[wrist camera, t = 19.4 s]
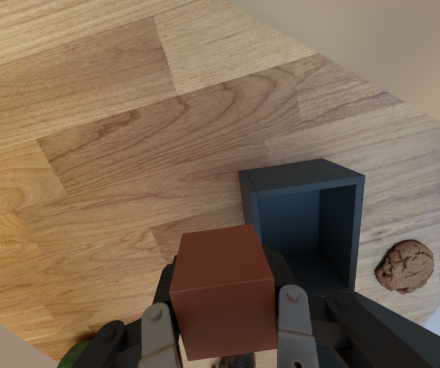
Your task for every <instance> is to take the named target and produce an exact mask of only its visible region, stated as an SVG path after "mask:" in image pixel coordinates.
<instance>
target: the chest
mask: <svg viewBox="0 0 440 368" xmlns="http://www.w3.org/2000/svg"><path fill="white" fill-rule="evenodd" d="M239 177H240V185H241V194H242V202H243V210H244V218H245V225H249V224H253V225H254V228H255V231H256V233H257V236H258V238H259V241H260V243H261V244H262V243H267V244H268V246H269V249H270V250H277V251H279V252H280V253H281V254H282V255H283V257H284V259H285V262H286V263H287V265H288V267H289V269H290V271H291V273H292V275H293V277H294V279H295V281H296V283H297V285H298V286H299V287H301V288H302V289H303V290H304V291H305V292H306V293H307V294H309V295H313V296H318V297H323V296H326V295H327V294H328V293H329V292H331V291H342V292H345V293H350V292H354V289H355V278H356V268H357V257H358V246H359V236H360V225H361V214H362V204H363V193H364V182H365V175H363V174H360V173H358V172H355V171H353V170H350V169H348V168H345V167H343V166H340V165H338V164H335V163H333V162H330V161H328V160H325V159H316V160H310V161H303V162H297V163H291V164H284V165H278V166H271V167H265V168H258V169H252V170H245V171H239Z"/></svg>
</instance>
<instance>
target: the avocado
mask: <svg viewBox="0 0 440 368" xmlns="http://www.w3.org/2000/svg"><path fill="white" fill-rule="evenodd" d="M90 341H91V340H85V341H82V342H79V343H77V344H76V345H75V346H73V347H72V348H71V349H70V350H69V351H68V352H67V353H66V354H65V356H64V357H63V358H62V359H61V361H60V363H59V364H58V366H57V368H70V367H71V366H72V365H73V364H74V362H75V361H76V360H77V358H78V357H79V356H80V354H81V353H82V352H83V350H84V349H85V348H86V346H87V345H88V344H89V342H90Z"/></svg>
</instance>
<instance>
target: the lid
mask: <svg viewBox="0 0 440 368" xmlns="http://www.w3.org/2000/svg"><path fill="white" fill-rule="evenodd" d="M347 294H349V295H351V296H352V297H353V298H354V299H356V300H357V301H358V302H359V303H360V304H361V305H363V306H364V307H365V308H366V309H367V310H368V311H369V312H371V313H372V314H373V315H374V316H375V317H376V318H377V319H379V320H380V321H381V322H382V323H383V324H384V325H386V326H387V327H388V328H389V329H390V330H391V331H392V332H394V333H395V334H396V335H397V336H398V337H399V338H401V339H402V340H403V341H404V342H405V343H406V344H407V345H409V346H410V347H411V348H412V349H413V350H414V351H415V352H417V353H418V354H419V355H420V356H421V357H422V358H424V359H425V360H426V361H427V362H428V363H429V364H430V365H432V366H433V367H434V368H440V336H439V335H436V334H435V333H432V332H431V331H429V330H427V329H425V328H423V327H422V326H420V325H418V324H416V323H414V322H412V321H410V320H408V319H406V318H404V317H403V316H401V315H399V314H397V313H395V312H393V311H391V310H389V309H387V308H386V307H384V306H382V305H380V304H378V303H376V302H374V301H372V300H370V299H369V298H367V297H365V296H363V295H361V294H359V293H357V292H351V293H347ZM325 298H326V296H325ZM278 324H279V320H278V319H277V320H276V326H277V345H278ZM316 349H317V356H318V363H319V368H343V367H342V366H341V364H340V363H339V362H338V361H337V359H336V358H335V357H334V355H333V354H332V353H331V352H330V350H329V349H328V348H327V346H325V345H321V344H316Z"/></svg>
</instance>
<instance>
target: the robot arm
mask: <svg viewBox="0 0 440 368" xmlns="http://www.w3.org/2000/svg"><path fill="white" fill-rule="evenodd" d="M261 246H262V249H263V251H264V254H265V256H266V259H267V262H268V264H269V267H270V269H271V272H272V274H273V277H274V290H275V308H276V320H277V319H278V320H279V324H278V347H277V368H319V363H318V356H317V349H316V344H321V345H325V346H327V348H328V349H329V350H330V352H331V353H332V354H333V355H334V357H335V358H336V359H337V361H338V362H339V363H340V364H341V366H342V367H343V368H434V367H433V366H432V365H430V364H429V363H428V362H427V361H426V360H425V359H424V358H422V357H421V356H420V355H419V354H418V353H417V352H415V351H414V350H413V349H412V348H411V347H410V346H409V345H407V344H406V343H405V342H404V341H403V340H402V339H401V338H399V337H398V336H397V335H396V334H395V333H394V332H392V331H391V330H390V329H389V328H388V327H387V326H386V325H384V324H383V323H382V322H381V321H380V320H379V319H377V318H376V317H375V316H374V315H373V314H372V313H371V312H369V311H368V310H367V309H366V308H365V307H364V306H363V305H361V304H360V303H359V302H358V301H357V300H356V299H354V298H353V297H352V296H351V295H349V294H347V293H345V292H342V291H331V292H329V293H328V294H327V295H326V298H325V297H318V296H313V295H309V294H307V293H306V292H305V291H304V290H303V289H302V288H301V287H299V286H298V285H297V283H296V281H295V279H294V277H293V275H292V273H291V271H290V269H289V267H288V265H287V263H286V262H285V259H284V257H283V255H282V254H281V253H280V252H279V251H277V250H270V249H269V246H268V244H267V243H262V244H261ZM176 260H177V255H175V256H174V260H173V264H167V266H166V267H165V268H164V269H163V271H162V274H161V277H160V280H159V284H158V287H157V290H156V293H155V297H154V300H153V303H152V305H151V306H150V307H148V308H147V309H146V310H145V312H144V313H143V315H142V318H140V319H138V320H136V321H134V322H132V323H130V324H127V325H124V323H123V322H122V321H120V320H115V321H111V322H109V323H107V324H106V325H104V326H103V327H102V328H101V329H100V330H99V331H98V332H97V333H96V335H95V336H94V337H93V339H92V340H91V341H90V342H89V344H88V345H87V346H86V348H85V349H84V350H83V352H82V353H81V354H80V356H79V357H78V358H77V360H76V361H75V362H74V364H73V365H72V366H71V367H70V368H183V362H182V357H181V351H180V346H179V335H180V330H179V327H178V323H177V320H176V316H175V312H174V309H173V305H172V302H171V298H170V294H169V290H170V285H171V281H172V277H173V273H174V268H175V264H176Z"/></svg>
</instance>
